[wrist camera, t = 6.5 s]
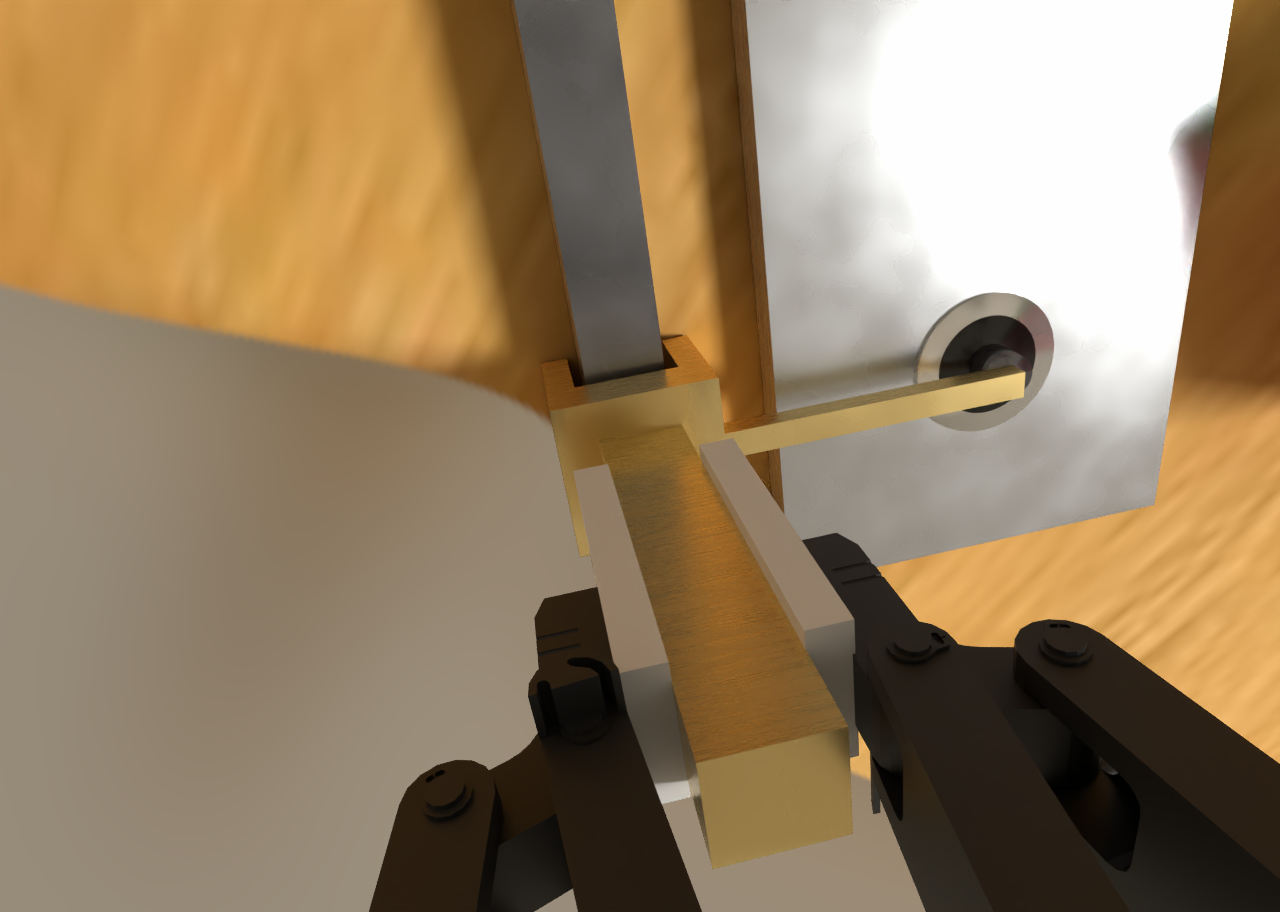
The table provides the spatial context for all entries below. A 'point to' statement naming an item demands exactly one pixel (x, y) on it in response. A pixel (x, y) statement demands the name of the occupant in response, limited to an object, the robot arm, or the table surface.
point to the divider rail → (591, 182)
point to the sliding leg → (735, 582)
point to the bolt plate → (974, 248)
